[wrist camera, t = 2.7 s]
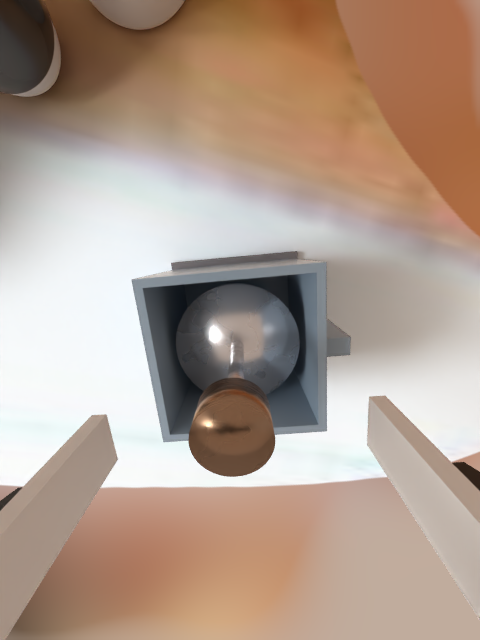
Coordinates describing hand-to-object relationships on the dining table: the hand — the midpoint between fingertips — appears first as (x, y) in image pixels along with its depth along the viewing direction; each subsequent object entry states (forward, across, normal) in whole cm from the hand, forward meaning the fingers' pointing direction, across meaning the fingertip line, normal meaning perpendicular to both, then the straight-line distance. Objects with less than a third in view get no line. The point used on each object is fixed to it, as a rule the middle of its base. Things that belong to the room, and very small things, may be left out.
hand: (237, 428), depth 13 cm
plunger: (+12, 0, 0) cm, 12 cm away
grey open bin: (+23, 0, 0) cm, 23 cm away
